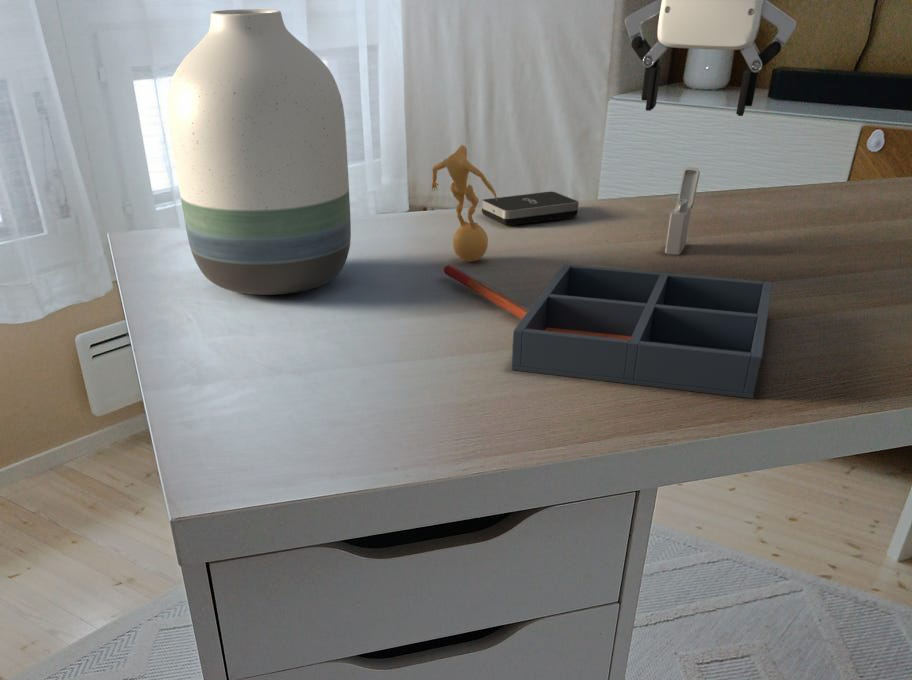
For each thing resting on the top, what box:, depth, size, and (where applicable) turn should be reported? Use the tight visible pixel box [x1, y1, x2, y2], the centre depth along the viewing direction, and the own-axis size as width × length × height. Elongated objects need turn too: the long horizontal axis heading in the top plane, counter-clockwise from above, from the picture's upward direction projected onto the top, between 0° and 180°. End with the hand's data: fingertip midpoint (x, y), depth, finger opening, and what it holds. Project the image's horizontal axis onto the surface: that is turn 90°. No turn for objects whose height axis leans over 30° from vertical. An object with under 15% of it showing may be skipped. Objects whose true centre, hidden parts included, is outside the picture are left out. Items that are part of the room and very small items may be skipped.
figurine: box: [431, 144, 498, 263], centre depth 100 cm, size 8×6×12 cm
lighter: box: [664, 166, 700, 256], centre depth 106 cm, size 7×2×8 cm, turn 159°
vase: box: [167, 8, 352, 296], centre depth 91 cm, size 17×17×24 cm
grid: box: [511, 263, 773, 399], centre depth 82 cm, size 20×20×3 cm
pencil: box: [443, 264, 530, 320], centre depth 91 cm, size 19×1×1 cm
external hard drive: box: [481, 190, 580, 227], centre depth 119 cm, size 7×11×2 cm, turn 115°
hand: (694, 111), depth 100 cm, fingers open, 9 cm apart
